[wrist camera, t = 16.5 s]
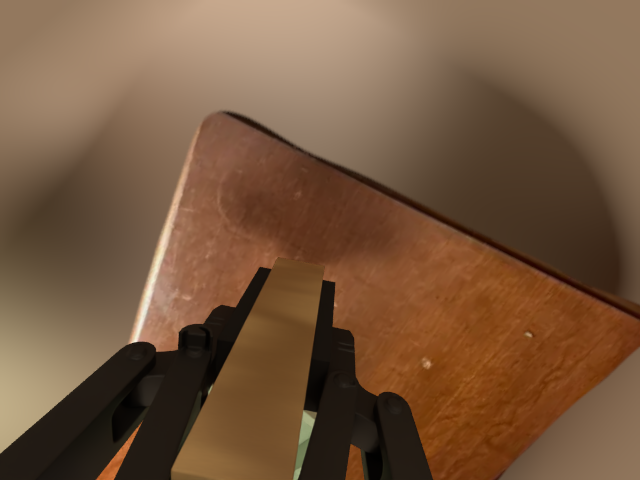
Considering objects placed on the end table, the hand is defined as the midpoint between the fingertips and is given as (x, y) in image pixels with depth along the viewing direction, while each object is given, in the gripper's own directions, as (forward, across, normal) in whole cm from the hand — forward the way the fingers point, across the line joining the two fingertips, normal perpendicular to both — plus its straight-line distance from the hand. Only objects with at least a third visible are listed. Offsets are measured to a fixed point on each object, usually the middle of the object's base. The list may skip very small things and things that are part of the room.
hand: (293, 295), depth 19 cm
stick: (+2, 0, 0) cm, 2 cm away
